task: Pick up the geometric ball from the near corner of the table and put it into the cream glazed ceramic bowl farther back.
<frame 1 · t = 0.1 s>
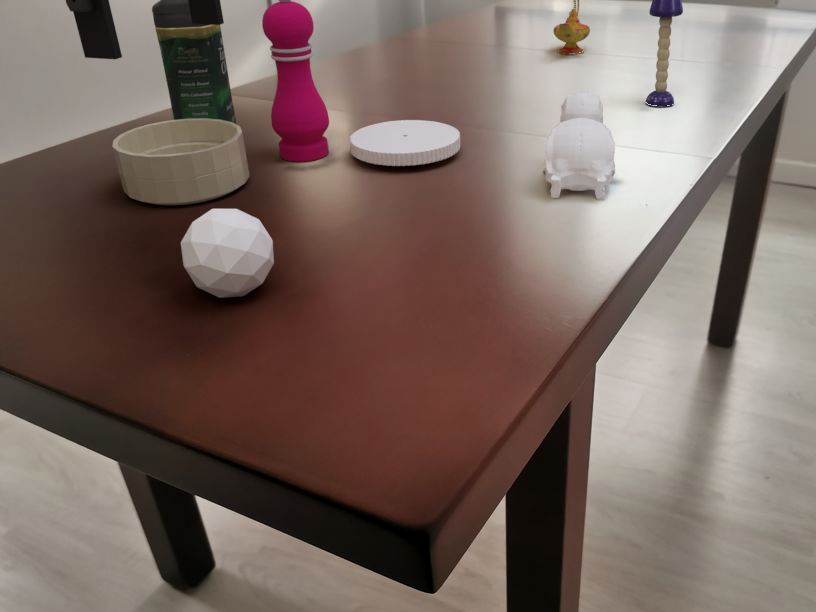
hand: (160, 39, 65), 21 cm above the table, tool pointing down, fingers open, 13 cm apart
plastic lid: (406, 156, 104), on the table
toy lamp: (657, 105, 122), on the table
pepper mill: (304, 155, 105), on the table
geometric ball: (235, 292, 73), on the table
coffee jar: (209, 136, 113), on the table
bowl: (188, 185, 96), on the table
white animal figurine: (578, 180, 95), on the table
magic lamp: (569, 54, 152), on the table
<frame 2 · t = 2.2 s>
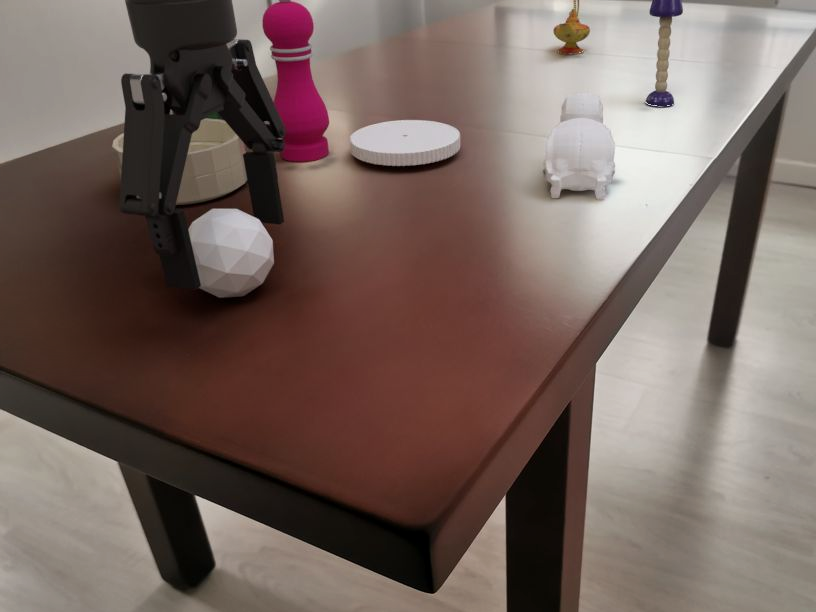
hand: (230, 251, 70), 4 cm above the table, tool pointing down, fingers open, 13 cm apart
nothing on the table moved.
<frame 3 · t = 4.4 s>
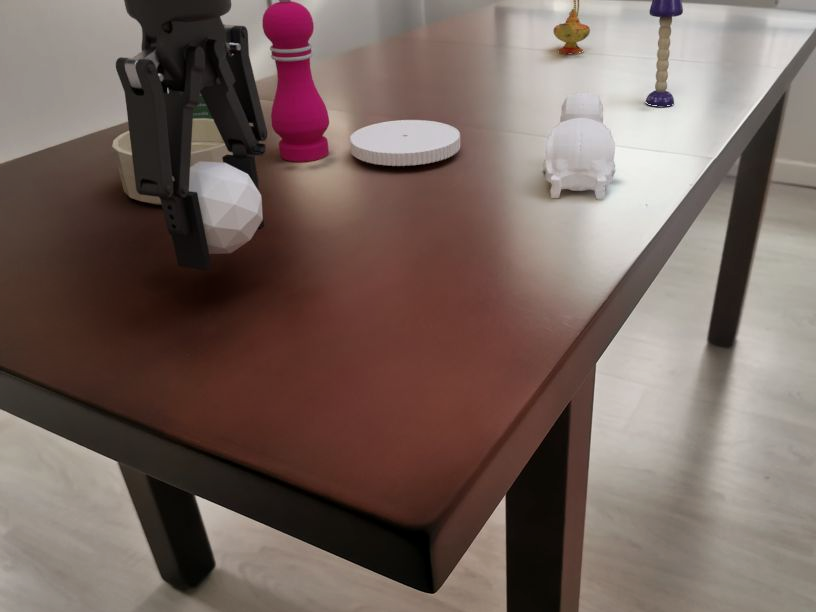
hand: (223, 245, 70), 4 cm above the table, tool pointing down, fingers closed on geometric ball, 8 cm apart
geometric ball: (223, 250, 71), point 4 cm above the table, touching gripper
everything else where it was.
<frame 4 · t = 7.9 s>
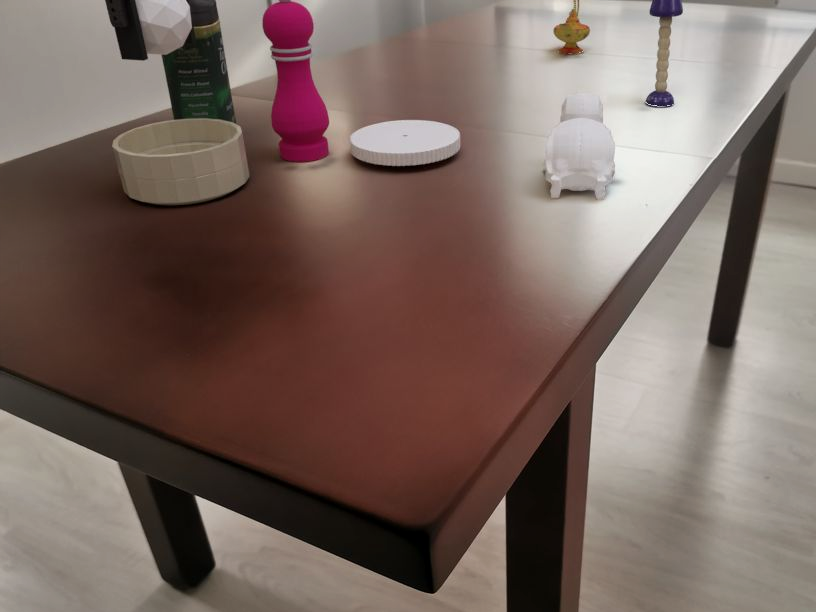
hand: (160, 50, 87), 15 cm above the table, tool pointing down, fingers closed on geometric ball, 8 cm apart
geometric ball: (160, 54, 87), point 15 cm above the table, touching gripper
everything else where it was.
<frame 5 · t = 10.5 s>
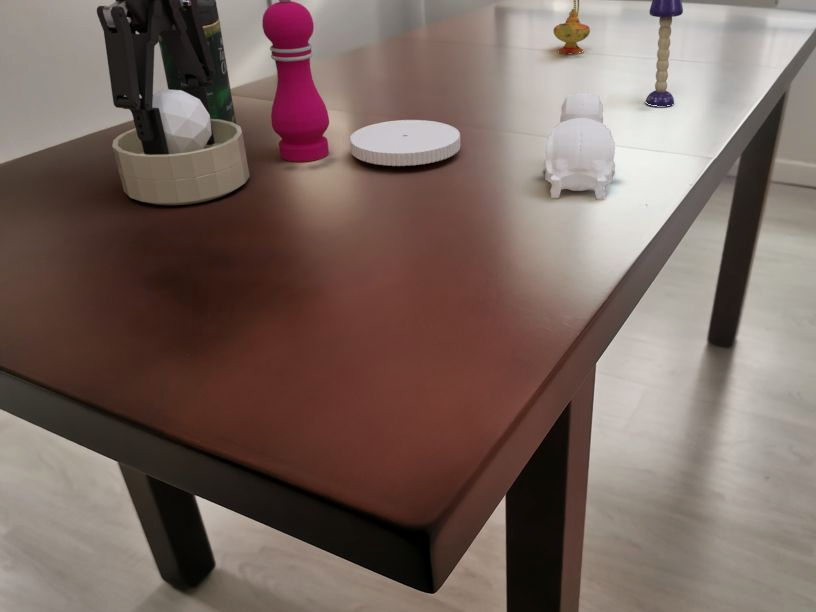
hand: (182, 154, 94), 4 cm above the table, tool pointing down, fingers closed on geometric ball, 8 cm apart
geometric ball: (182, 158, 94), point 3 cm above the table, touching gripper
everything else where it was.
when the fingers open (3 cm above the table, at t = 12.7 s): geometric ball stays where it is, resting on bowl.
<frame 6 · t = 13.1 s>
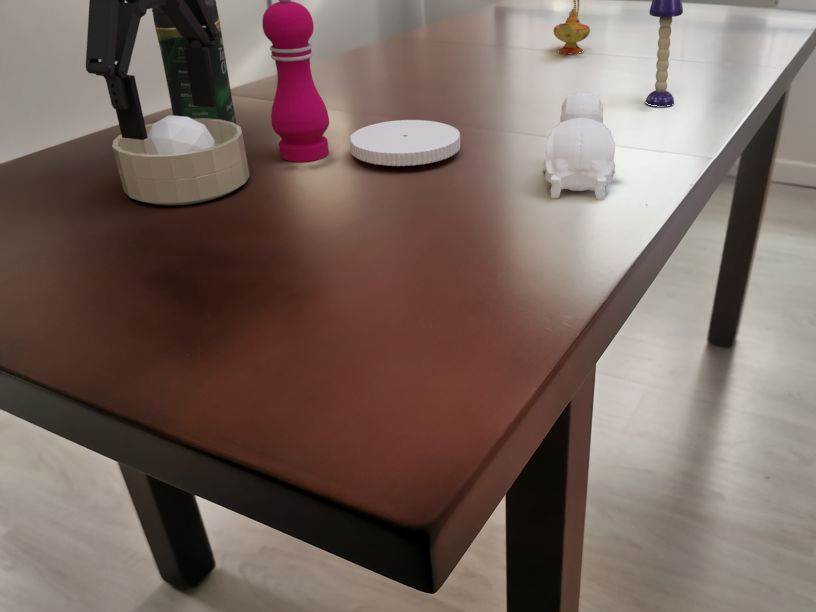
hand: (172, 121, 92), 8 cm above the table, tool pointing down, fingers open, 12 cm apart
geometric ball: (187, 182, 95), resting on bowl
everything else where it was.
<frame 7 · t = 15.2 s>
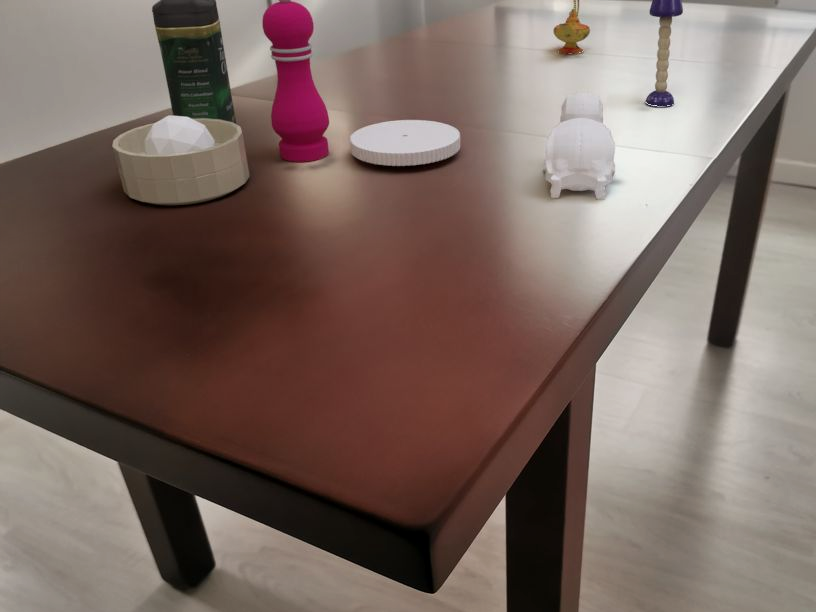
nothing on the table moved.
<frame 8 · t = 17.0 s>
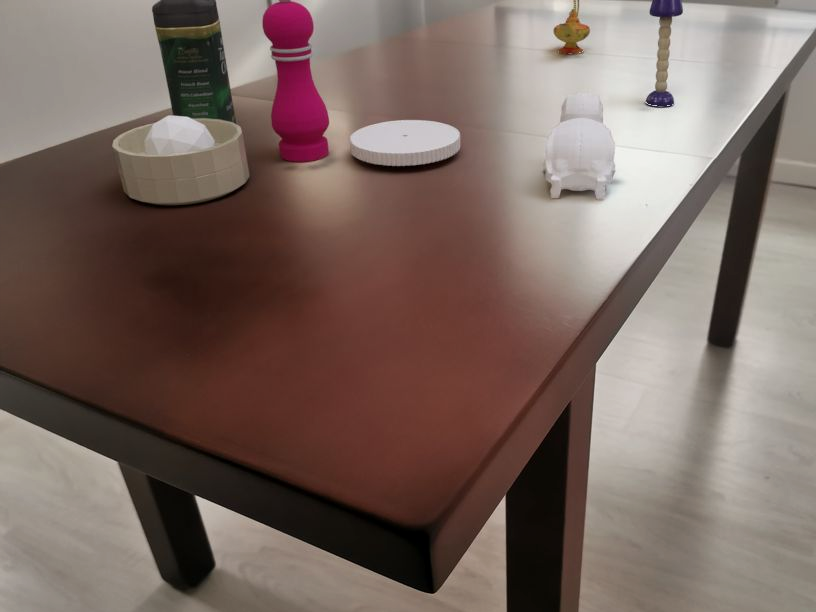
nothing on the table moved.
at the end: geometric ball inside the target area in the bowl (0.1 cm from its centre), point 0.4 cm above the bowl's base; the gripper is holding nothing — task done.
